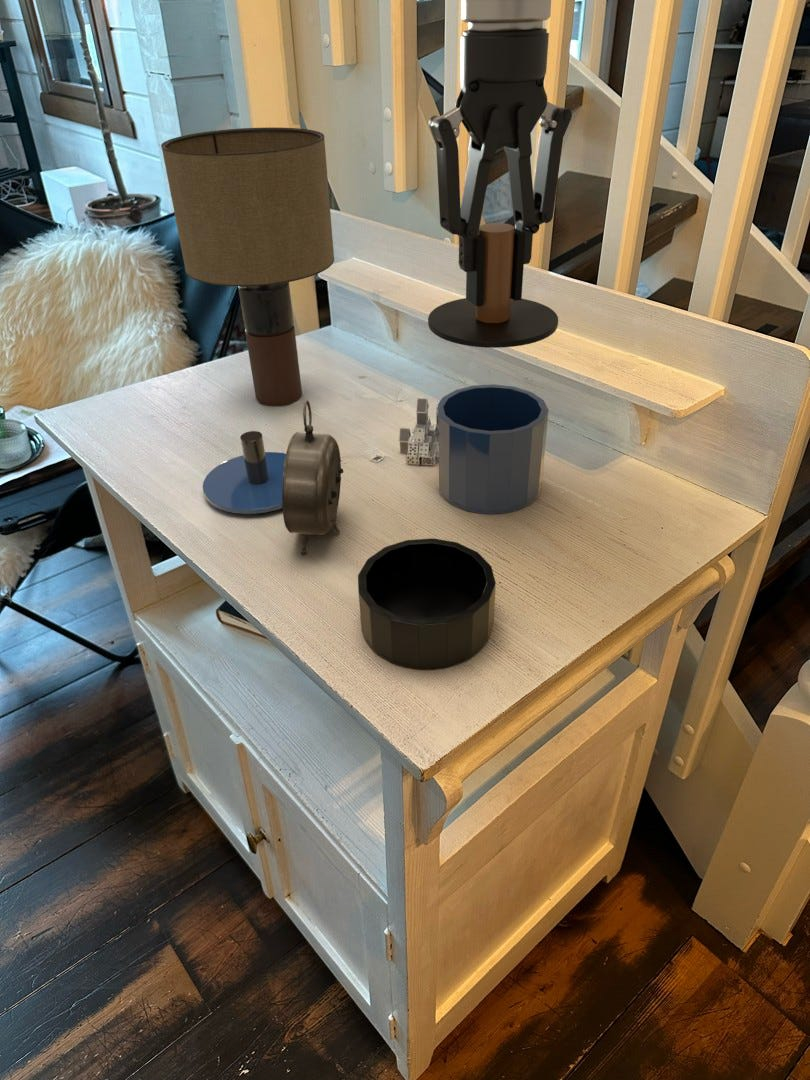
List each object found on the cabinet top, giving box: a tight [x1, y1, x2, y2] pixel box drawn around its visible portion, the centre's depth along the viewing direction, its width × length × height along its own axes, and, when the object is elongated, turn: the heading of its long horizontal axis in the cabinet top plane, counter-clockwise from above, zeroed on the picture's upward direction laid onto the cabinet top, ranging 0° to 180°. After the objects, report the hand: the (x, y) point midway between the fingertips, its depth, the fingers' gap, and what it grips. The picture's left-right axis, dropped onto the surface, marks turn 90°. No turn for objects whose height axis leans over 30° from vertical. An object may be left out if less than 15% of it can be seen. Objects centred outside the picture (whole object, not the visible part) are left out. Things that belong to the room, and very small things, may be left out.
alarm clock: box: [281, 399, 344, 556], centre depth 81 cm, size 11×5×16 cm, turn 174°
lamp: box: [160, 127, 335, 407], centre depth 105 cm, size 20×20×35 cm
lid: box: [427, 222, 559, 349], centre depth 77 cm, size 14×14×10 cm
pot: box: [435, 383, 549, 515], centre depth 90 cm, size 13×13×10 cm
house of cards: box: [369, 397, 437, 467], centre depth 99 cm, size 9×9×8 cm
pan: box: [357, 538, 497, 671], centre depth 72 cm, size 13×13×6 cm
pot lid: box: [202, 430, 286, 515], centre depth 92 cm, size 14×14×7 cm
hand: (493, 298), depth 78 cm, fingers closed on lid, 4 cm apart
